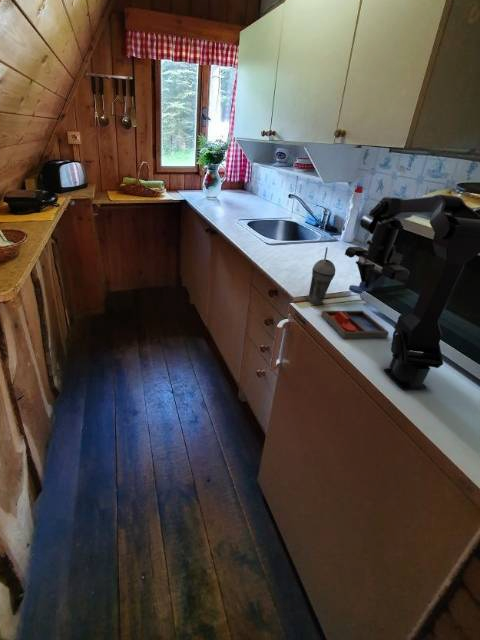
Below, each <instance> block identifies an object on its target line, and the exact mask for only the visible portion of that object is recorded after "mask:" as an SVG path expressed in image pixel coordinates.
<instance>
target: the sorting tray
mask: <svg viewBox="0 0 480 640" xmlns="http://www.w3.org/2000/svg"><path fill="white" fill-rule="evenodd" d="M337 311H338V310H322V311H321V314H320V317H321V318H322V319H323V320H324V321H325V322H326V323H327V324H328V326H330V327H331V328H332V329H333V330H334V332H336V333H337V334H338V336H339V337H341V339H342V340H353V339H354V340H355V339H356V340H357V339H358V340H360V339H363V340H364V339H387V338H388V336H389V334H390V332H389V331H388V330H387V329H386V328H385V327H383V326H382V325H381V324H379V322H377V321H376V320H375V319H374V318H372V317H371V316H370V315H369V314H367V313H366V311H364V310H341V311H342V312H343V313H344V314H345V315H346V316H347V317H348V318H349V321H348V323H349V324H352V325H353V326H355V328H356V330H355V331H352V332H346V331H345V330H344V329H343V328H342V327H341V326H342V325H341V324H340V323H339V322H338V321H337V320H336V319H335V316H336V313H337Z"/></svg>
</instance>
